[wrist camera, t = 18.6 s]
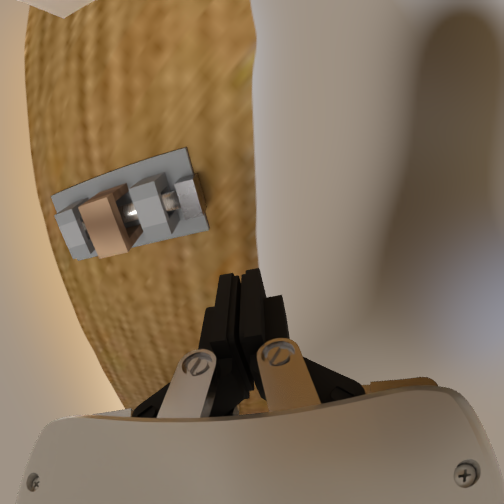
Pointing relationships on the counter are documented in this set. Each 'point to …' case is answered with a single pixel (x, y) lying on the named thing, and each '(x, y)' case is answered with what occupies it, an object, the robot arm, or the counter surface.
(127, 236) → the block
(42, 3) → the milk
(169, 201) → the shaft
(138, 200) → the bearing block
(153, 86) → the counter surface
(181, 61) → the counter surface
